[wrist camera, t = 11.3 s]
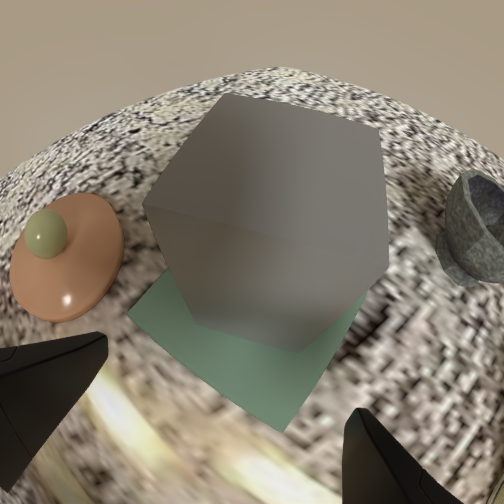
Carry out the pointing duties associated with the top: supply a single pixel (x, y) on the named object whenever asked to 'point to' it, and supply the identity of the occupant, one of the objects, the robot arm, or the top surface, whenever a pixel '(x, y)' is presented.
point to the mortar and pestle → (473, 231)
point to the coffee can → (498, 493)
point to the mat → (239, 355)
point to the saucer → (67, 257)
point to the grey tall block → (272, 219)
